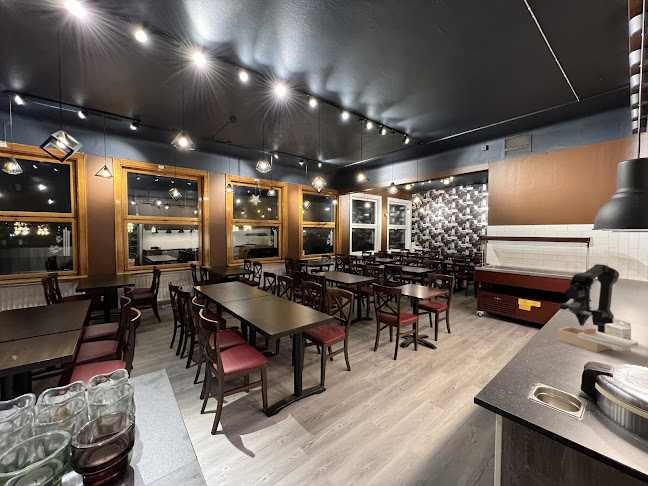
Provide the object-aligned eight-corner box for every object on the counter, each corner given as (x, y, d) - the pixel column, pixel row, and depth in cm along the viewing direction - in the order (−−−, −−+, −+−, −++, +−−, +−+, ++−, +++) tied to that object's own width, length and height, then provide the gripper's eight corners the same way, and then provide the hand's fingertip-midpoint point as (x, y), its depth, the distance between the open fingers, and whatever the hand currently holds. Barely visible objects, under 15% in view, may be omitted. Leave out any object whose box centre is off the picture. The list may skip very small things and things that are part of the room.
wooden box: (570, 336, 155) (571, 326, 155) (610, 348, 139) (611, 337, 139) (557, 339, 151) (557, 329, 151) (596, 352, 135) (597, 340, 135)
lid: (592, 333, 146) (592, 326, 146) (637, 346, 130) (638, 337, 130) (577, 337, 142) (577, 329, 142) (622, 350, 126) (622, 341, 126)
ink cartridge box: (603, 344, 144) (604, 317, 143) (612, 344, 144) (612, 317, 144) (622, 351, 135) (622, 323, 135) (631, 351, 136) (632, 322, 135)
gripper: (553, 294, 151) (552, 322, 151) (595, 302, 133) (595, 333, 134) (565, 293, 155) (565, 319, 155) (608, 300, 137) (607, 330, 138)
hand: (581, 325), depth 145 cm, fingers closed
